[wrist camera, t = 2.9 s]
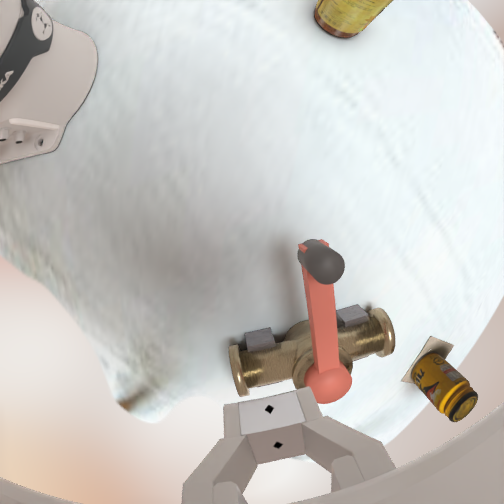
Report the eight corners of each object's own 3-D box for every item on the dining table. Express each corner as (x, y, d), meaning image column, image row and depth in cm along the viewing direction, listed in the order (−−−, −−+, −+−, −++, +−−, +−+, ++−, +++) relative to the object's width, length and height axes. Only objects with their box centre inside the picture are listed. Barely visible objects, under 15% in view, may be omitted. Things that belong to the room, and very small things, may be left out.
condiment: (400, 380, 38) (439, 427, 26) (429, 335, 37) (478, 376, 25) (426, 385, 39) (462, 426, 28) (452, 344, 38) (496, 380, 26)
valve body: (239, 376, 34) (243, 414, 28) (227, 335, 33) (229, 371, 26) (372, 340, 35) (397, 369, 28) (371, 298, 34) (401, 323, 27)
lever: (305, 396, 27) (316, 423, 23) (282, 244, 23) (295, 258, 19) (345, 384, 28) (359, 409, 23) (334, 233, 23) (355, 244, 19)
